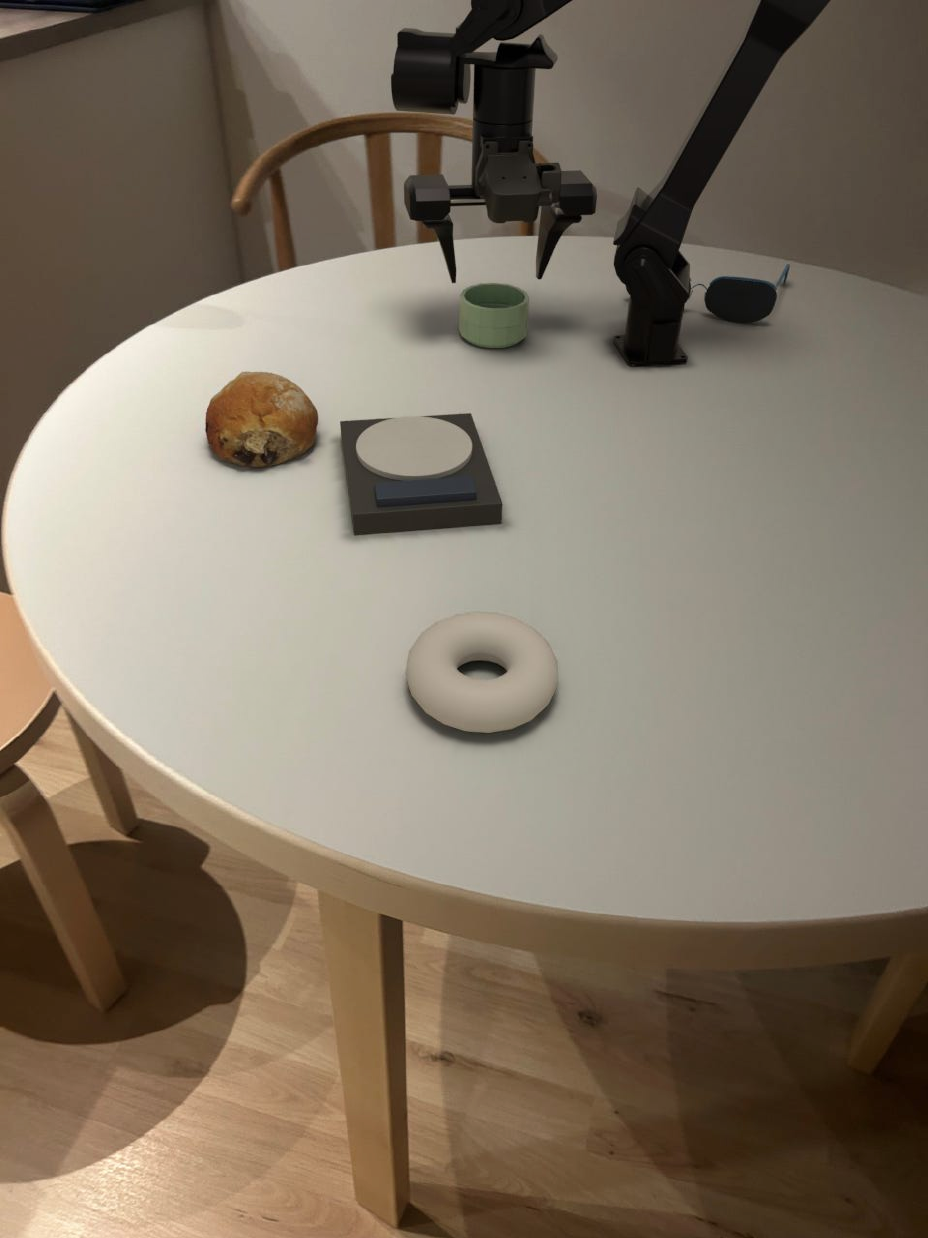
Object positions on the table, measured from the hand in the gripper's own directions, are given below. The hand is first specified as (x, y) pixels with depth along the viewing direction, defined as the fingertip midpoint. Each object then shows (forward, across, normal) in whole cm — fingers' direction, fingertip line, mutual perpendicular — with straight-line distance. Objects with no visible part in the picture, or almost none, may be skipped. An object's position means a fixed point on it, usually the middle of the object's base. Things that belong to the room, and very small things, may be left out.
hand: (496, 279), depth 101 cm
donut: (+6, -11, -54) cm, 56 cm away
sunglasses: (+6, +28, +9) cm, 30 cm away
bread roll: (+6, -25, -20) cm, 33 cm away
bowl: (+6, 0, 0) cm, 6 cm away
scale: (+6, -12, -28) cm, 31 cm away
